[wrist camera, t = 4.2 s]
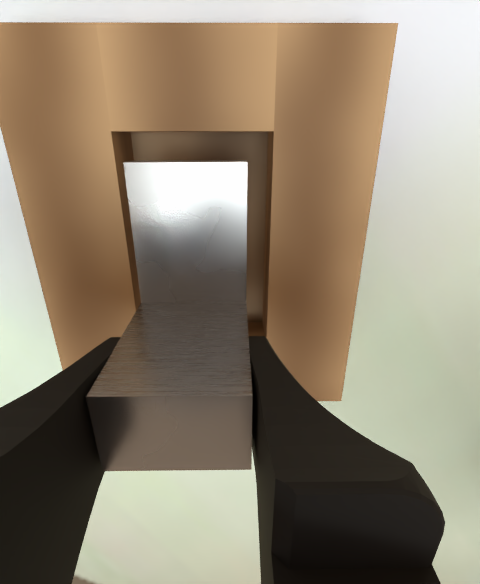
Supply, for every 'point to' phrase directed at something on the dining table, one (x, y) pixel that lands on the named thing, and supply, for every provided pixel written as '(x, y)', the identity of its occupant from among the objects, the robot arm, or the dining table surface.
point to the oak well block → (200, 146)
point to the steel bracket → (181, 326)
